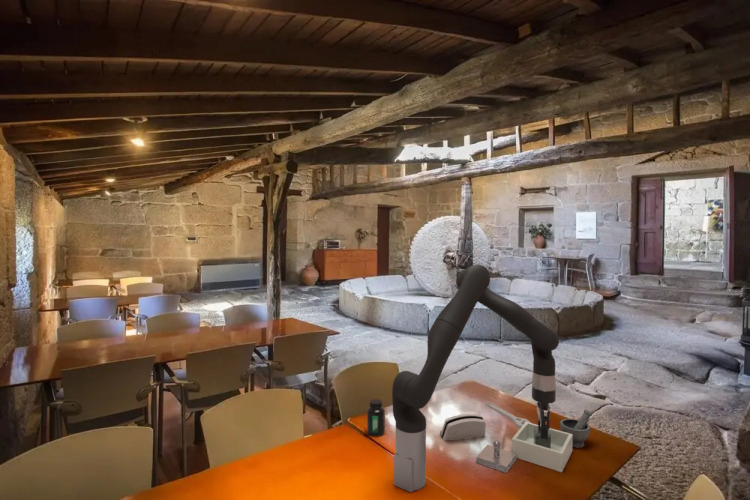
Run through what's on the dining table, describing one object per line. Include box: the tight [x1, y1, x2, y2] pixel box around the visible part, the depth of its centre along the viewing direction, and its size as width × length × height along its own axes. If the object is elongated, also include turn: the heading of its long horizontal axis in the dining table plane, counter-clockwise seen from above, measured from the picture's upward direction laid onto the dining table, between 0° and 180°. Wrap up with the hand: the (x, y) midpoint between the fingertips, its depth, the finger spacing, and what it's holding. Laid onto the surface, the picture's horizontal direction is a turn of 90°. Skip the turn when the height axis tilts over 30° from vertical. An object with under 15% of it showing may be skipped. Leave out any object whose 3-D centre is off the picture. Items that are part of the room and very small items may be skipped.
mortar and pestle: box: [559, 409, 593, 449], centre depth 149 cm, size 11×9×12 cm
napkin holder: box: [439, 413, 487, 442], centre depth 153 cm, size 17×5×10 cm, turn 103°
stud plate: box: [475, 440, 518, 474], centre depth 137 cm, size 10×10×7 cm
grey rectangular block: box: [534, 427, 551, 449], centre depth 141 cm, size 5×5×7 cm
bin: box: [511, 422, 573, 473], centre depth 141 cm, size 16×16×6 cm
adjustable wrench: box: [485, 401, 532, 429], centre depth 172 cm, size 25×6×2 cm, turn 19°
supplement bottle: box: [366, 398, 386, 437], centre depth 156 cm, size 7×7×12 cm
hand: (542, 432), depth 141 cm, fingers open, 8 cm apart
